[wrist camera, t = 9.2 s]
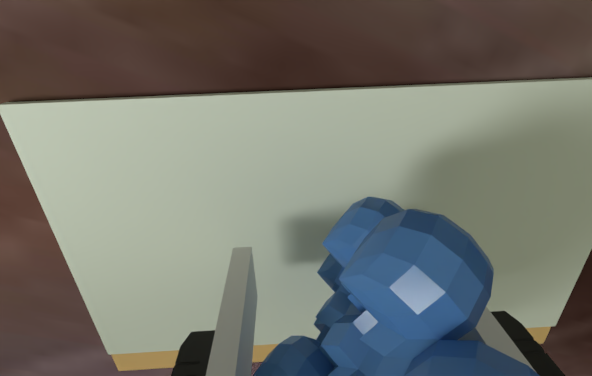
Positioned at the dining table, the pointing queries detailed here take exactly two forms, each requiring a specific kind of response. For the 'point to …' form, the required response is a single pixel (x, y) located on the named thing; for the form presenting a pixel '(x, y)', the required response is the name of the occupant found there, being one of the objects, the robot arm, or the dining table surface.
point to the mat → (302, 193)
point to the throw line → (259, 354)
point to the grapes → (397, 301)
